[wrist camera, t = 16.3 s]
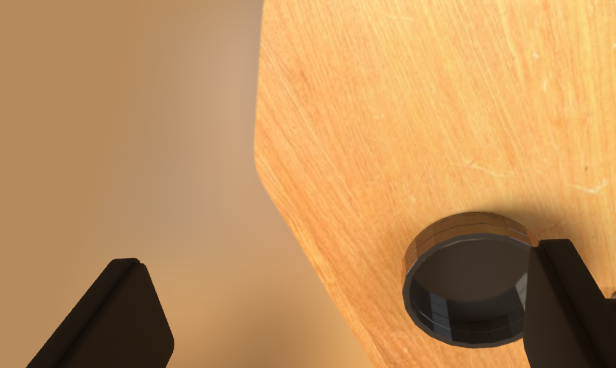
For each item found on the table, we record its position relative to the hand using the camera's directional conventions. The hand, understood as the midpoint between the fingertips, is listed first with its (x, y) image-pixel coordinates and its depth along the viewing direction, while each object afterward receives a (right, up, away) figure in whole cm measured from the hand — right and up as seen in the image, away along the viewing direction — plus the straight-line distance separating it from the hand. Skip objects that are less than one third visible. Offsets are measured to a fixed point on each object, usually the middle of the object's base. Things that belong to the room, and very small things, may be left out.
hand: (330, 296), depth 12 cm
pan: (+15, -6, +34) cm, 38 cm away
